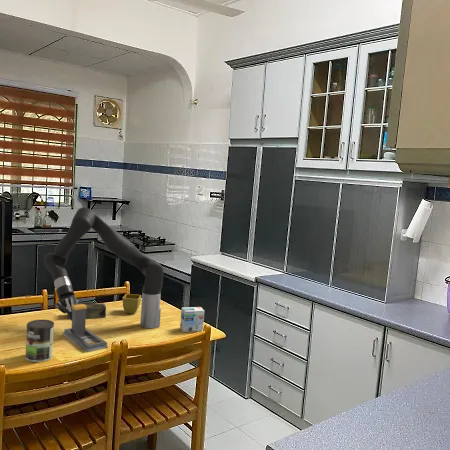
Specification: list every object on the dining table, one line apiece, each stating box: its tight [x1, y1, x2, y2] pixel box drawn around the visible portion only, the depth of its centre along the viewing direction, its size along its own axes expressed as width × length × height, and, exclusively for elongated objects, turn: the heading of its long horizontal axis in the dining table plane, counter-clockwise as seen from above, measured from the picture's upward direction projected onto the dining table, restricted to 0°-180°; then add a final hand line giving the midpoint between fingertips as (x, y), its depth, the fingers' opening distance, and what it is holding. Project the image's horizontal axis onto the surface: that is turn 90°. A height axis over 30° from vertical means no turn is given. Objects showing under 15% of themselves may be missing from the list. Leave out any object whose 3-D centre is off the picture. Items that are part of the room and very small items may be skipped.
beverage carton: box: [66, 302, 107, 320], centre depth 240 cm, size 8×19×7 cm, turn 110°
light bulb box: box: [179, 306, 205, 333], centre depth 232 cm, size 11×7×11 cm, turn 112°
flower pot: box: [122, 293, 142, 315], centre depth 252 cm, size 9×9×9 cm
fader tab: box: [71, 304, 87, 335], centre depth 210 cm, size 4×5×13 cm
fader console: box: [62, 327, 109, 353], centre depth 206 cm, size 24×10×2 cm, turn 42°
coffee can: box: [25, 319, 55, 363], centre depth 185 cm, size 10×10×14 cm
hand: (73, 319), depth 214 cm, fingers closed
